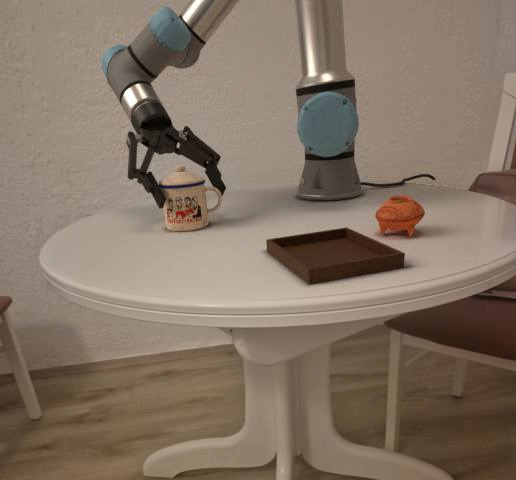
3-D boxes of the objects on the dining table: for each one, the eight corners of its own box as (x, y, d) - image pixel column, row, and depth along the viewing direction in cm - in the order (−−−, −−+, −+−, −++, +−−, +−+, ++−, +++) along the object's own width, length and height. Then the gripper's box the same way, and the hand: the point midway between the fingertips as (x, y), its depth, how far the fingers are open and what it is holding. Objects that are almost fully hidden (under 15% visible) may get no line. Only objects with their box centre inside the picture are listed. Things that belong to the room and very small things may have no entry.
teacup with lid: (162, 233, 93) (152, 170, 88) (167, 223, 101) (158, 164, 96) (224, 228, 94) (218, 165, 88) (224, 218, 102) (218, 160, 96)
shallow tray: (346, 239, 81) (346, 227, 80) (404, 267, 66) (405, 253, 65) (266, 251, 77) (266, 239, 76) (308, 284, 63) (308, 269, 62)
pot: (436, 231, 80) (434, 192, 76) (400, 250, 78) (396, 211, 74) (402, 221, 86) (398, 185, 83) (368, 239, 84) (363, 202, 81)
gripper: (194, 124, 108) (238, 199, 104) (86, 134, 95) (131, 221, 91) (204, 96, 102) (251, 175, 97) (89, 103, 89) (138, 195, 84)
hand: (194, 198), depth 94 cm, fingers open, 13 cm apart
